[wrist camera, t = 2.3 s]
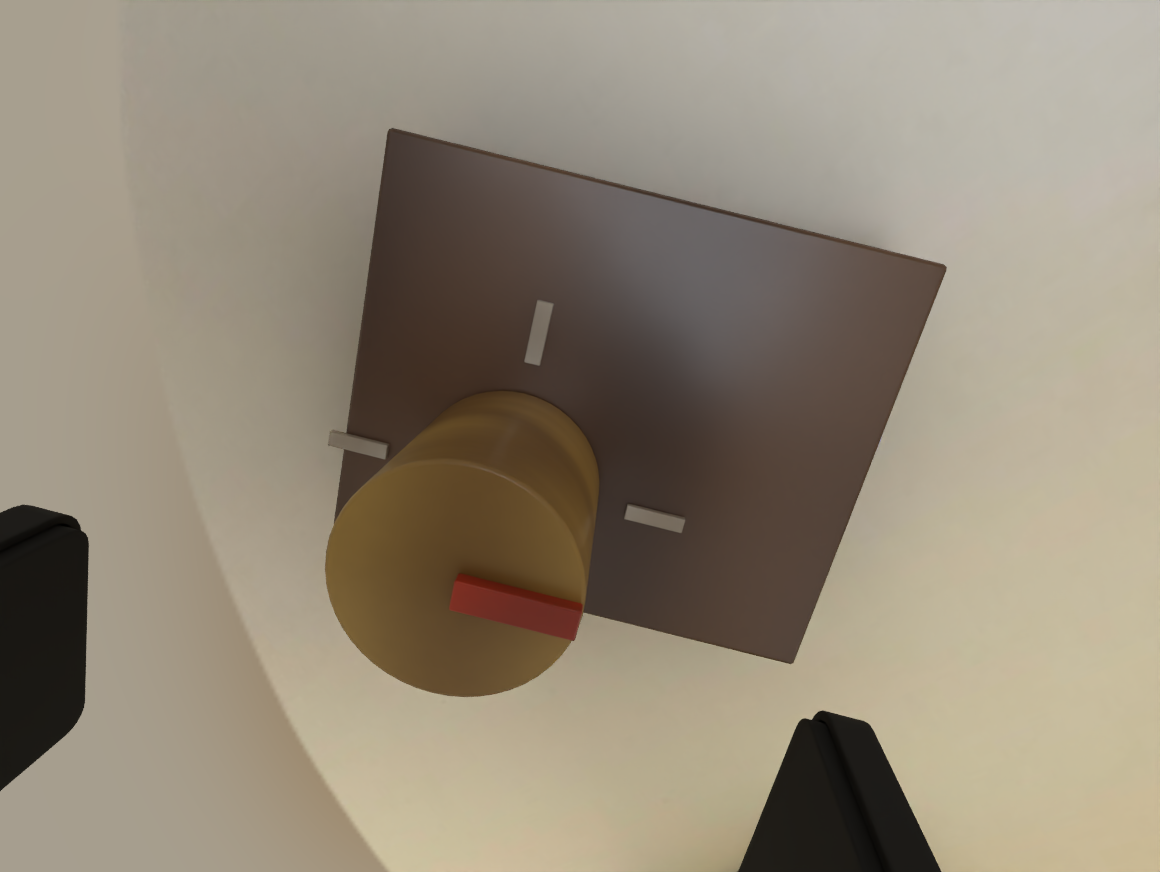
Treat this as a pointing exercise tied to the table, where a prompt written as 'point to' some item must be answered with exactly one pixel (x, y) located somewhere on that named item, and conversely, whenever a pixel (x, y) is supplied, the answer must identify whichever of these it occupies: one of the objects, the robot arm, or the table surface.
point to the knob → (470, 548)
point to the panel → (644, 372)
